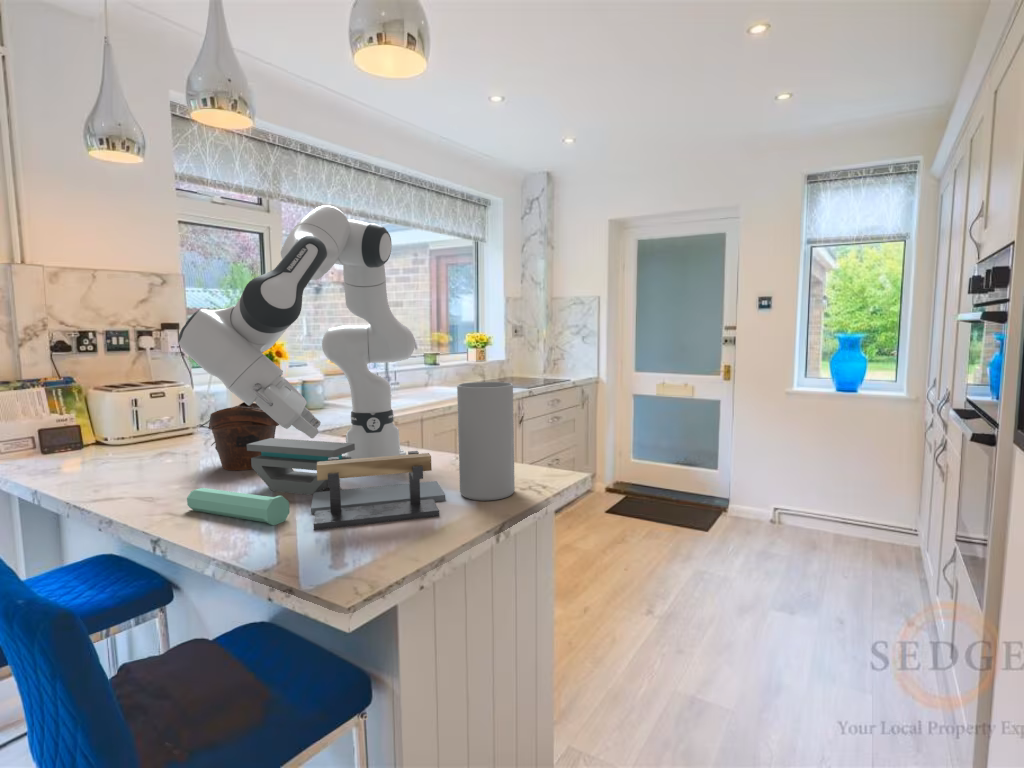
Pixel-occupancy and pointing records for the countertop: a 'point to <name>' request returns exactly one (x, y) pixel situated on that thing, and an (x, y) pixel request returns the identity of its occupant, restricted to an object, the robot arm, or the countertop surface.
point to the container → (240, 505)
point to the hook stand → (375, 512)
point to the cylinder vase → (486, 440)
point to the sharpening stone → (294, 463)
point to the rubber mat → (377, 495)
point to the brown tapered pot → (240, 433)
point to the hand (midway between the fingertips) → (317, 430)
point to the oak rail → (373, 466)
